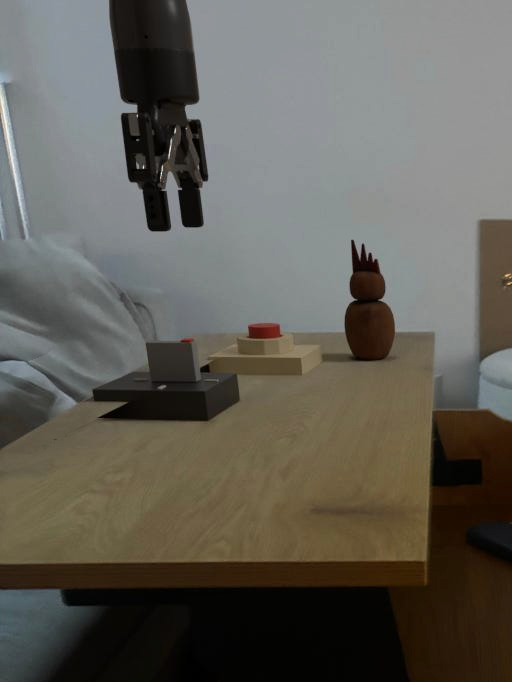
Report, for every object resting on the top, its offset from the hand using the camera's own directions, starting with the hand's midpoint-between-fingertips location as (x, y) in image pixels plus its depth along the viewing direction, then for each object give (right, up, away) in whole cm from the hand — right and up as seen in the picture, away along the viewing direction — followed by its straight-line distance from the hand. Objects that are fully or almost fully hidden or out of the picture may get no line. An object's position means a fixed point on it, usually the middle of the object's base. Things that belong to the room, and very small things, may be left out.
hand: (177, 229), depth 102 cm
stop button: (+4, -4, +24) cm, 25 cm away
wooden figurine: (+17, -4, +32) cm, 36 cm away
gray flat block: (-1, -15, +2) cm, 15 cm away
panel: (-2, -18, +4) cm, 18 cm away
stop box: (+4, -7, +26) cm, 27 cm away
